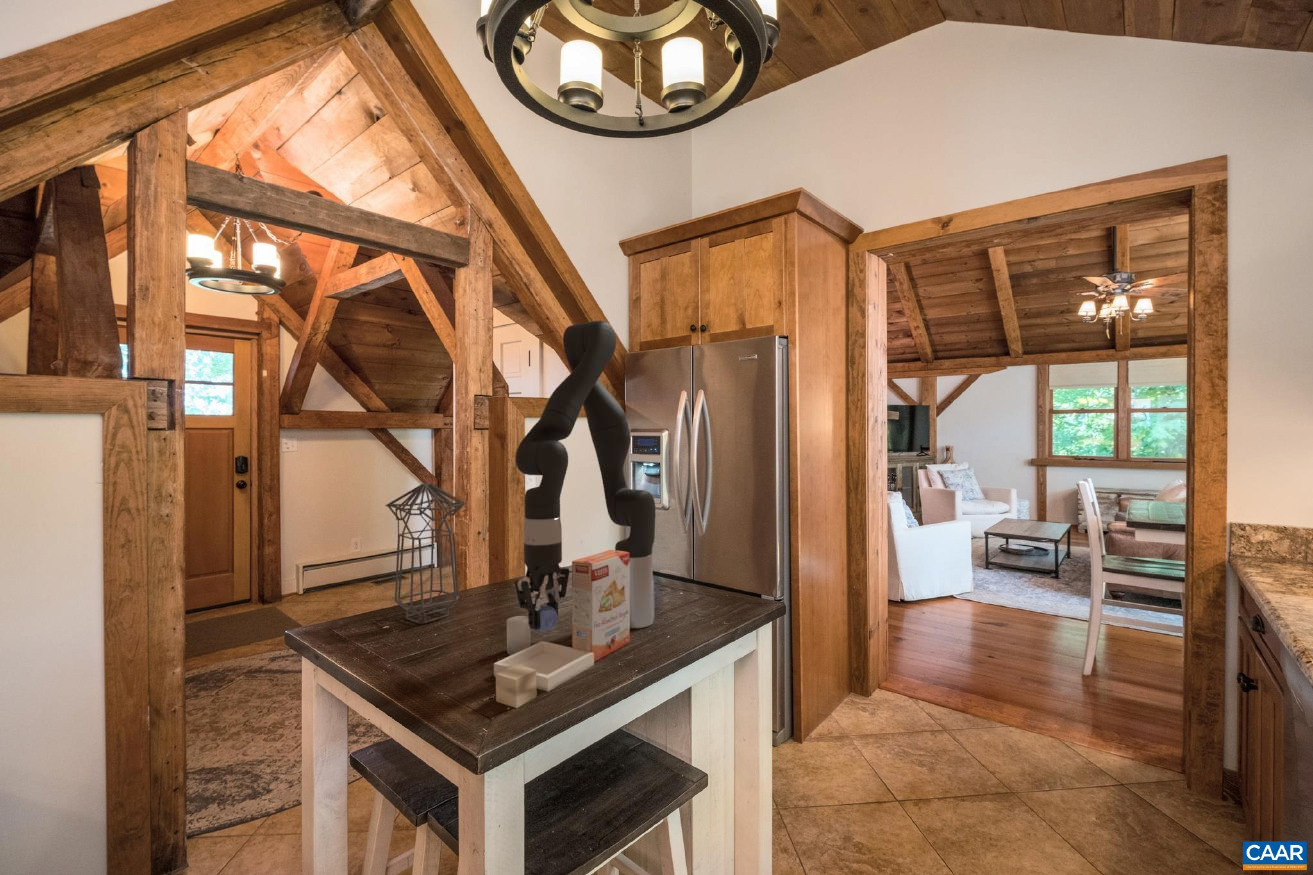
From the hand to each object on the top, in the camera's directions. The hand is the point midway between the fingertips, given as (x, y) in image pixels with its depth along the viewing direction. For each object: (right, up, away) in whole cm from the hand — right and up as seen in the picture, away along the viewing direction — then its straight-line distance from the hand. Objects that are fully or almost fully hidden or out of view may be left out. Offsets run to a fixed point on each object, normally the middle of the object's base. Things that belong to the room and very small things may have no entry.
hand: (543, 624), depth 117 cm
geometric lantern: (-37, -10, +35) cm, 52 cm away
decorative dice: (0, -1, 0) cm, 1 cm away
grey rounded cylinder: (-8, -9, +11) cm, 16 cm away
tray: (0, -9, 0) cm, 9 cm away
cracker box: (+11, -9, +10) cm, 18 cm away
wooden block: (-3, -10, -12) cm, 16 cm away
